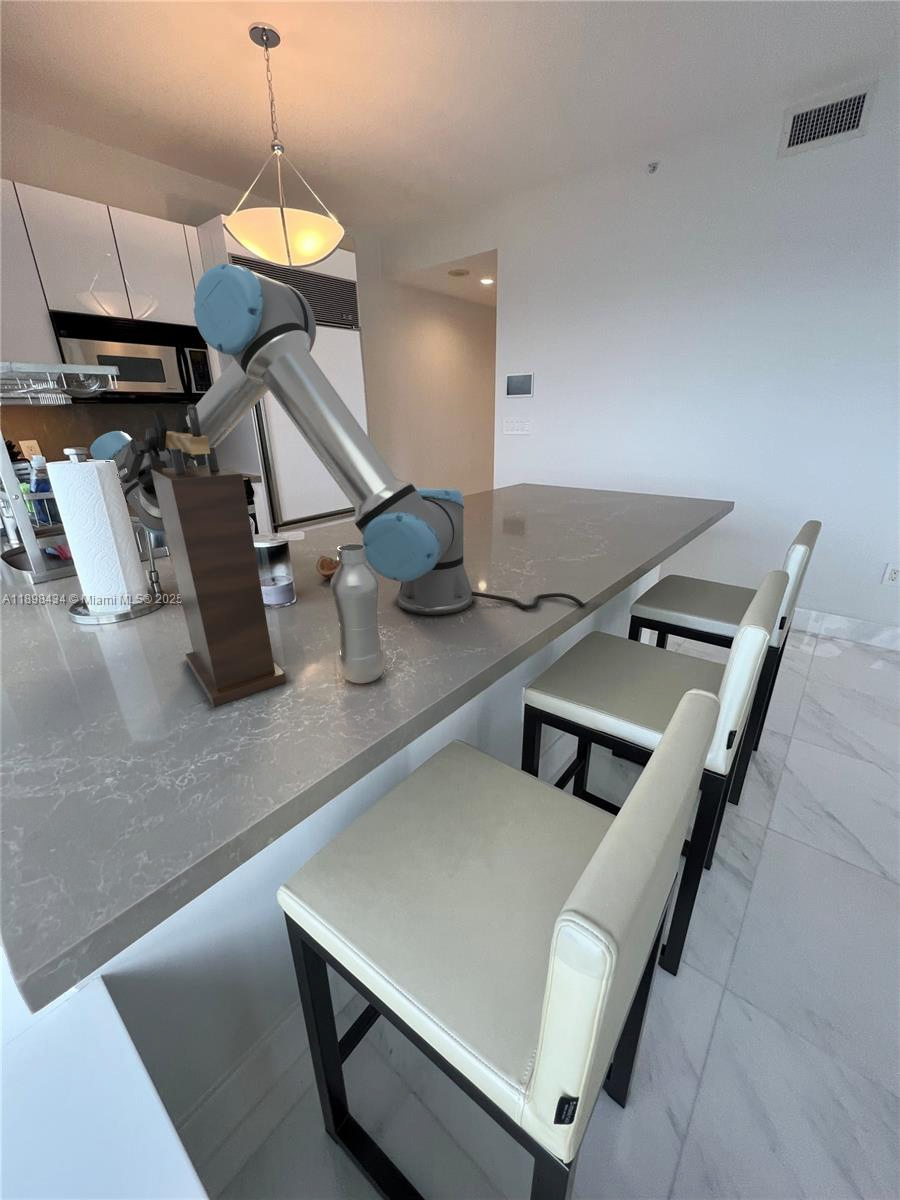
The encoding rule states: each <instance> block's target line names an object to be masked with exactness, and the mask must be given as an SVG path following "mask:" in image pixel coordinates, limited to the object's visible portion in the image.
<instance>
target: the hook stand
mask: <svg viewBox="0 0 900 1200" xmlns="http://www.w3.org/2000/svg"><path fill="white" fill-rule="evenodd" d="M209 449H210V454H206V455H207V460H208V465H199V466H186V467H185V466H184V461H183V456H182V451H181V449H170V452H171V456H172V461H173V466H174V467H173V468H160V469H151V473H152V477H153V481H154V486H155V490H156V494H157V499H158V503H159V507H160V511H161V516H162V520H163V524H164V528H165V533H166V535H165V536H166V540H167V545H168V550H169V554H170V559H171V562H172V566H173V571H174V576H175V579H176V584H177V587H178V592H179V596H180V601H181V605H182V609H183V613H184V618H185V623H186V626H187V632H188V635H189V639H190V644H191V648H192V651H191V652H188V653H185V658H186V662H187V665H188V666H189V667H190V669H191V671H192V672H193V674H194V676H195V678H196V679H197V681H198V683H199V684H200V686H201V688H202V690H203V691H204V693H205V695H206V697H207V698H208V699H209V701H210V703H211V704H212V706H213V708H216V707H219V706H222V705H225V704H227V703H230V702H233V701H236V700H239V699H242V698H245V697H248V696H251V695H254V694H256V693H260V692H263V691H265V690H268V689H272V688H274V687H277V686H280V685H283V684H286V683H287V679H286V674H285V672H284V671H283V670H282V668H280V666H278V665H277V664H276V662H275V661H274V656H273V650H272V644H271V638H270V632H269V627H268V620H267V615H266V607H265V602H264V596H263V590H262V584H261V578H260V571H259V566H258V565H259V564H258V560H257V554H256V547H255V542H254V535H253V531H252V525H251V524H252V523H251V518H250V511H249V507H248V501H247V495H246V494H247V493H246V488H245V482H244V481H245V480H244V476H243V473H241V472H239V471H234V470H232V469H229V468H225V467H222V466H220V465H219V459H218V453H217V447H216V448H215V447H209Z"/></svg>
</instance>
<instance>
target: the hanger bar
mask: <svg viewBox="0 0 900 1200" xmlns="http://www.w3.org/2000/svg"><path fill="white" fill-rule="evenodd" d="M195 406H196V405H195V404H189V405H188V406H187V408H186V409H187V415H189V421H190V426H191V431H192V434H186V433H179V432H174V431H167V434H166V444H165V447H166V448H170V449H181V451H182V452H185V453H189V454H192V455H197V454H210V449H209V444H208V438H207V436H202V434H201V429H200V423H199V418H198V413H197V408H196V407H195Z"/></svg>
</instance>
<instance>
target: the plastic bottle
mask: <svg viewBox="0 0 900 1200" xmlns="http://www.w3.org/2000/svg"><path fill="white" fill-rule="evenodd" d="M336 552H337V558H336V560H337V561H338V562H339V563H340V566H339V567H338V569H337V570H336V572H335V573H334V575H333V577H332V579H330V584H329V589H330V593H331V597H332V600H333V604H334V607H335V611H336V616H337V622H338V628H339V654H338V667H339V669H340V672H341V673H340V674H341V675H342V676H343V677H344V678H345V679H346V680H347V681H348V682H350V683H355V684H366V683H371V682H374V681H376V680H378V679H379V678H380V677H381V676H382V674H383V673H384V671H385V665H386V658H385V654H384V651H383V647H382V644H381V639H380V633H379V626H378V599H379V597H378V595H379V582H378V579H377V577H376V575H375V573H374V572H373V571H372V569H371V568H370V567H369V566H368V564H366V562H367V556H366V551H365V546H364V545H363V544H361V543H349V544H348V543H347V544H342V545H339V546H338V547H337V550H336Z"/></svg>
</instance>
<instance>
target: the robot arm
mask: <svg viewBox="0 0 900 1200" xmlns="http://www.w3.org/2000/svg"><path fill="white" fill-rule="evenodd" d="M193 301H194V307H193V317H194V320H195V324H196V327H197V329H198V332H199V334H200V335H201V337H202V339H203V340H204V342H205V343H206V344H207V345H208V346H210V348H212V349H213V350H215V351H217V352H219V353H220V354H223V355H228V356H231V357H232V358H233V360H232V361H231V362H230V364H229V365H228V366H227V367H226V369H224V371H223V372H222V373H221V375H220V376H219V377H218V378H217V379H216V381H214V383H213V384H212V385H211V387H209V389H208V390H207V391H206V393H205V394H204V395H203V396H202V397H201V399H200V400H199V401H198V402H197V403H196V404H195V405H194V406H195V407H196V408H197V413H198V418H199V423H200V429H201V434H202V436H207V438H208V444H209V447H215V448H216V449H217V447H218V445H220V443H221V442H223V440H224V439H225V438H226V437H227V436H228V435H229V434H230V433H231V432H232V431H233V429H235V428H236V426H237V425H238V424H239V423H240V422H241V421H242V420H243V419H244V417H245V416H247V414H248V413H249V412H250V411H251V410H252V409H253V408H254V407H255V406H256V405H257V403H258V402H260V401H261V399H262V398H263V397H264V396H266V394H267V393H268V392H270V393H271V395H272V396H273V397H274V399H276V401H277V403H278V405H279V406H280V407H281V409H282V410H283V412H285V414H286V415H287V417H288V418H289V419H290V421H291V422H292V423H293V425H294V426H295V427H296V429H297V431H298V432H299V434H300V435H301V436H302V437H303V439H304V440H305V442H306V443H307V444H308V446H309V447H310V448H311V450H312V451H313V452H314V453H313V454H315V455H316V457H317V458H318V459H319V461H320V462H321V464H322V465H323V466H324V468H325V469H326V470H327V472H328V474H329V475H330V476H331V478H332V479H333V480H334V481H335V483H336V484H337V486H338V487H339V489H340V490H341V491H342V492H343V494H344V496H346V498H347V500H348V501H349V502H350V504H351V505H352V507H353V508H354V510H355V513H354V520H353V521H354V522H353V523H354V525H355V526H356V528H357V529H358V530H359V532H360V533H361V535H362V545H364V546H365V551H366V556H367V560H366V562H367V563H368V564H369V566H370V567H371V568H372V569H373V570H374V571H375V572H376V573H377V574H379V575H380V576H382V577H384V578H385V579H388V580H391V581H396V582H399V585H398V592H397V603H398V606H399V607H400V608H401V609H403V610H405V611H407V612H408V613H411V614H416V615H422V616H423V615H424V616H444V615H451V614H455V613H459V612H461V611H463V610H466V609H468V608H469V607H470V606H471V605H472V603H473V597H477V598H484V599H489V600H496V601H502V602H507V603H511V604H513V605H516V606H518V607H519V608H521V609H524V610H529V609H530V610H531V609H535V608H536V607H537V606H538V604H539V600H541V599H550V598H564V599H566V600H567V599H568V600H570V601H572V602H574V603H576V604H577V605H578V606H579V607H581V608H585V607H586V605H585V604H584V602H583V601H582V600H580V599H579V598H577V597H576V596H573V595H571V594H569V593H562V592H552V593H551V592H550V593H542V594H541V593H540V594H538V595H536V596H535V597H534V598H533V603H529V604H526V603H523V602H521V601H519V600H518V599H515V598H511V597H508V596H502V595H495V594H491V593H484V592H478V591H473V590H472V586H471V583H470V581H469V577H468V574H467V572H466V568H465V566H464V510H465V503H464V496H463V493H462V492H461V490H459V489H456V488H440V487H439V488H438V487H437V488H436V487H435V488H433V487H415V486H414V485H413V483H412V482H411V481H406V480H400V479H399V478H397V476H396V475H395V473H394V472H393V471H392V469H391V468H390V466H389V464H388V463H387V461H386V460H385V459H384V457H383V456H382V455H381V453H380V452H379V451H378V449H377V447H376V446H375V445H374V444H373V442H372V440H371V439H370V437H369V436H368V435H367V433H366V431H364V429H363V428H362V426H361V425H360V423H359V422H358V420H357V419H356V418H355V417H354V415H353V413H352V412H351V410H350V409H349V408H348V405H346V403H345V402H344V400H343V399H342V398H341V396H340V394H339V393H338V392H337V390H336V389H335V387H334V385H332V384H331V383H332V382H330V381H329V379H328V377H327V376H326V374H325V373H324V371H322V369H321V368H320V367H319V364H317V362H316V360H315V359H314V357H313V356H312V354H311V351H312V349H313V348H314V344H315V341H316V337H317V322H316V318H315V314H314V312H313V311H314V310H313V309H312V307H311V306H310V303H309V301H308V300H307V299H306V298H305V297H304V295H302V293H301V292H299V291H298V290H297V289H296V288H294V287H293V286H291V285H289V284H286V283H284V282H281V281H278V280H275V279H272V278H269V277H267V276H265V275H262V274H261V273H260V274H259V273H258V272H255V271H253V270H251V269H249V268H247V267H246V266H242V265H235V264H231V263H220V264H216V265H214V266H212V267H210V268H209V269H207V270H206V271H205V272H204V273H203V275H202V276H201V277H200V278H199V281H198V283H197V285H196V288H195V291H194V295H193ZM175 417H176V418H175V424H174V425H175V426H174V430H173V432H179V433H186V434H192V431H191V426H190V421H189V415H188V414H187V415H186V414H185V411H184V409H177V410H176V416H175ZM167 432H168V427H167V424H166V421H165V418H164V414H163V411H162V410H161V409H157V410H156V409H155V410H154V420H153V427H147V428H146V429H145V437H144V439H139V438H132V437H131V436H130V434H128V433H126V432H123V431H122V430H114V431H110V432H109V431H108V432H107V433H104V434H102V435H100V436H99V437H97V438H96V439H95V440H94V441H93V443H92V444H91V445H90V448H89V453H90V455H91V456H92V458H93V460H94V461H95V460H114V461H115V462H116V466H117V469H118V473H119V475H120V477H121V479H122V481H121V483H120V485H121V488H122V491H123V494H124V495H123V494H122V495H123V497H124V498H125V499H126V501H127V502H128V503H129V505H130V506H131V507H132V508H133V510H134V511H135V512H136V513H137V517H138V522H139V523H140V525H141V526H142V528H143V529H144V530H146V531H147V532H148V533H150V534H152V535H154V536H155V535H156V536H166V533H165V528H164V524H163V520H162V516H161V511H160V507H159V503H158V499H157V494H156V490H155V486H154V481H153V477H152V473H151V469H160V468H173V467H174V466H173V461H172V456H171V452H170V448H166V447H165V444H166V434H167ZM182 456H183V461H184V466H185V467H186V466H199V465H208V460H207V455H206V454H197V455H192V454H189V453H185V452H182ZM105 462H110V461H105ZM117 476H118V474H117ZM118 478H119V477H118ZM119 479H120V478H119ZM132 491H133V492H134V494H135V495H136V496H137V498H138V499H137V498H136V497H135V495H134V494H133V493H132Z"/></svg>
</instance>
